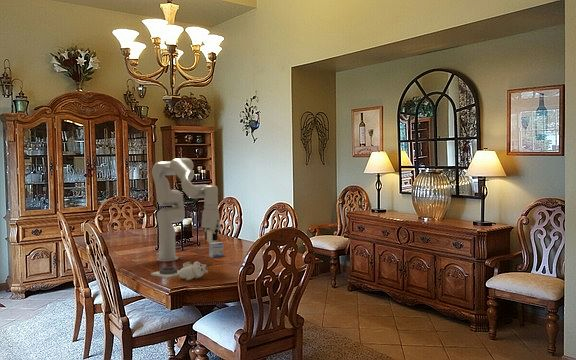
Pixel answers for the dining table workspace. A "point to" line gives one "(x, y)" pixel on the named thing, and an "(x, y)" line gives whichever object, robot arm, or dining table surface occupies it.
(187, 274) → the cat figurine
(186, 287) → the dining table surface
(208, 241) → the cream cap
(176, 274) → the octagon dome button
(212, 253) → the medicine box
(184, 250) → the dining table surface
